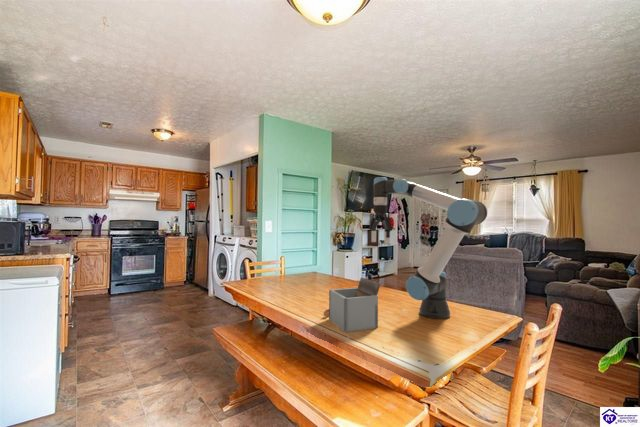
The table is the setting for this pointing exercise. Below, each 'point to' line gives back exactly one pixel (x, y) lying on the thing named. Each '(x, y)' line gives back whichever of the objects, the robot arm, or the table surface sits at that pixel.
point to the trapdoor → (367, 288)
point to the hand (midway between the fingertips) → (380, 242)
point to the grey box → (352, 310)
